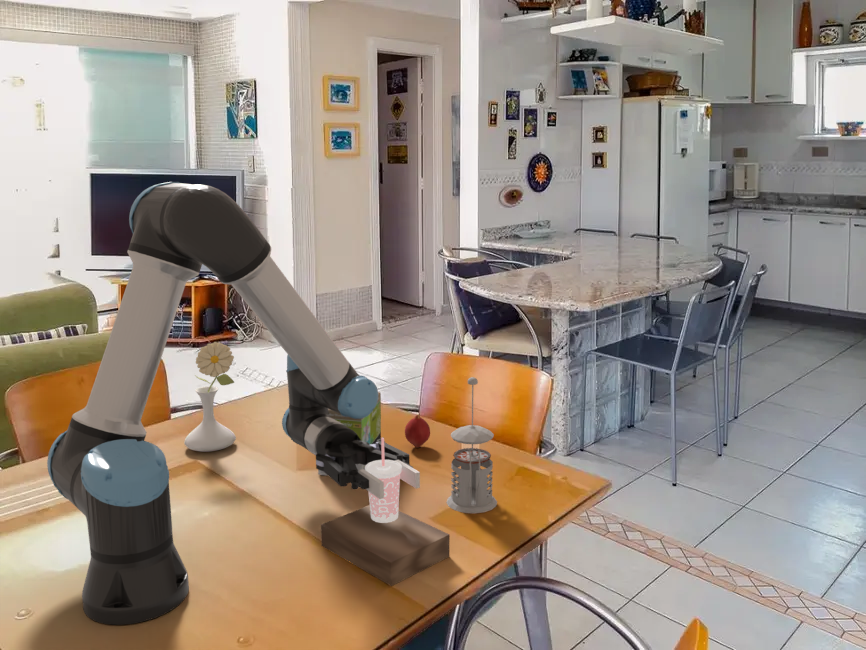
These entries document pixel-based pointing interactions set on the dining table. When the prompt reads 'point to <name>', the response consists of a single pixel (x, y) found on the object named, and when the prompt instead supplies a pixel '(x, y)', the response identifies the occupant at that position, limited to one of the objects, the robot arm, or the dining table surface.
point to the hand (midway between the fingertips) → (400, 485)
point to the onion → (417, 431)
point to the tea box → (362, 427)
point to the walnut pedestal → (385, 544)
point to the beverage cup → (385, 488)
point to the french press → (471, 469)
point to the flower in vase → (211, 400)
